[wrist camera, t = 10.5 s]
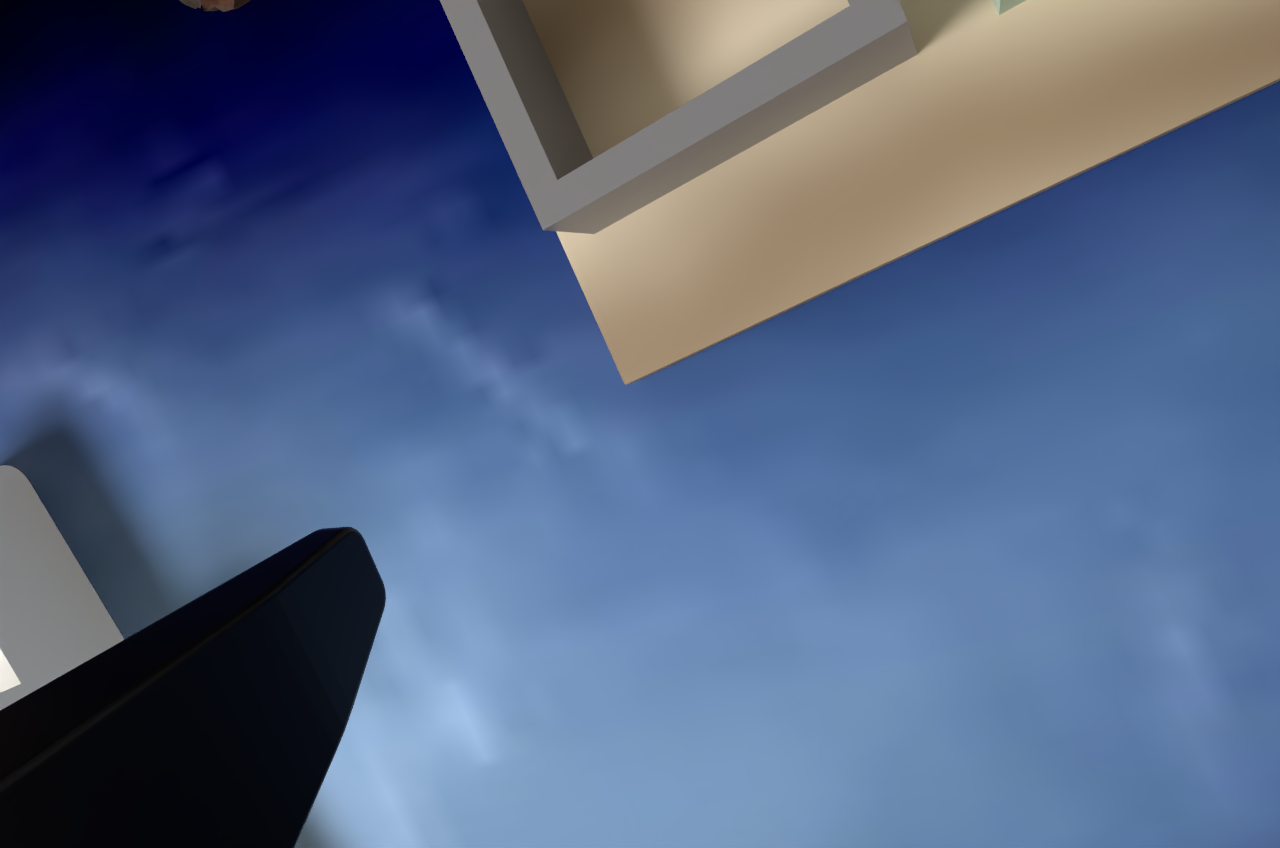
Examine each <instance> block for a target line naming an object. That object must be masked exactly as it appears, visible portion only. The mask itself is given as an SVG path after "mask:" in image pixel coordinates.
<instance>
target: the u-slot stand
mask: <svg viewBox="0 0 1280 848" xmlns="http://www.w3.org/2000/svg"><path fill="white" fill-rule="evenodd" d="M123 640H124V638H123V636H122V635H121V633H120V631H119V630H118V628H117V626H116V625H115V623H114V621H113V620H112V618H111V616H110V615H109V613H108V611H107V610H106V608H105V606H104V605H103V603H102V601H101V600H100V598H99V596H98V595H97V593H96V591H95V590H94V588H93V586H92V585H91V583H90V582H89V580H88V578H87V577H86V575H85V573H84V572H83V570H82V568H81V567H80V565H79V563H78V562H77V560H76V558H75V557H74V555H73V553H72V552H71V550H70V548H69V547H68V545H67V543H66V542H65V540H64V538H63V537H62V535H61V533H60V532H59V530H58V528H57V527H56V525H55V523H54V522H53V520H52V518H51V517H50V515H49V513H48V512H47V510H46V508H45V507H44V505H43V503H42V502H41V500H40V498H39V497H38V495H37V493H36V492H35V490H34V488H33V487H32V485H31V483H30V482H29V481H28V479H27V478H26V476H25V475H24V474H23V473H22V472H20V471H19V470H18V469H16V468H14V467H12V466H8V465H2V466H0V710H2V709H3V708H5V707H7V706H9V705H10V704H12V703H14V702H16V701H17V700H19V699H21V698H23V697H24V696H26V695H28V694H30V693H32V692H33V691H35V690H37V689H39V688H40V687H42V686H44V685H46V684H47V683H49V682H51V681H53V680H54V679H56V678H58V677H60V676H61V675H63V674H65V673H67V672H68V671H70V670H72V669H74V668H75V667H77V666H79V665H81V664H82V663H84V662H86V661H88V660H90V659H91V658H93V657H95V656H97V655H98V654H100V653H102V652H104V651H105V650H107V649H109V648H111V647H112V646H114V645H116V644H118V643H119V642H121V641H123Z"/></svg>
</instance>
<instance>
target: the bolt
mask: <svg viewBox="0 0 1280 848" xmlns="http://www.w3.org/2000/svg"><path fill="white" fill-rule="evenodd" d="M180 1H181V2H182V3H184V4H185V5H187V6H190V7H192V8H195V9H196V8H197V7H199V8H200V7H201V5H202V6H203V9H204V11H216V10H221V11H223V12H225V11H229V10H234V9H238V8H239V7H241V6H243V5H244V4H246V3H247V2H249V1H250V0H180Z"/></svg>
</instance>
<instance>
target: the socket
mask: <svg viewBox="0 0 1280 848" xmlns="http://www.w3.org/2000/svg"><path fill="white" fill-rule="evenodd" d="M992 1H993V3H994V5H995V7H996V10H997V12H998V14H999V15H1001V14H1003V13H1004V12H1006V11H1008V10H1010V9H1012V8H1013V7H1015V6H1017V5H1019V4H1021V3H1022V2H1024V1H1026V0H992Z"/></svg>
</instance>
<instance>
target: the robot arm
mask: <svg viewBox="0 0 1280 848" xmlns="http://www.w3.org/2000/svg"><path fill="white" fill-rule="evenodd" d="M385 600H386V595H385V588H384V584H383V581H382V579H381V577H380V574H379V572H378V570H377V568H376V565H375V563H374V561H373V559H372V556H371V554H370V552H369V550H368V547H367V545H366V543H365V540H364V538H363V537H362V535H361V534H360V533H359V532H358V531H357V530H356V529H354V528H352V527H339V528H326V529H320V530H317V531H315V532H313V533H311V534H309V535H307V536H306V537H304V538H302V539H300V540H299V541H297V542H295V543H293V544H292V545H290V546H288V547H286V548H285V549H283V550H281V551H279V552H278V553H276V554H274V555H272V556H271V557H269V558H267V559H265V560H263V561H262V562H260V563H258V564H256V565H255V566H253V567H251V568H249V569H248V570H246V571H244V572H242V573H241V574H239V575H237V576H235V577H234V578H232V579H230V580H228V581H227V582H225V583H223V584H221V585H220V586H218V587H216V588H214V589H213V590H211V591H209V592H207V593H205V594H204V595H202V596H200V597H198V598H197V599H195V600H193V601H191V602H190V603H188V604H186V605H184V606H183V607H181V608H179V609H177V610H176V611H174V612H172V613H170V614H169V615H167V616H165V617H163V618H162V619H160V620H158V621H156V622H155V623H153V624H151V625H149V626H147V627H146V628H144V629H142V630H140V631H139V632H137V633H135V634H133V635H132V636H130V637H128V638H126V639H125V640H123V641H121V642H119V643H118V644H116V645H114V646H112V647H111V648H109V649H107V650H105V651H104V652H102V653H100V654H98V655H97V656H95V657H93V658H91V659H90V660H88V661H86V662H84V663H82V664H81V665H79V666H77V667H75V668H74V669H72V670H70V671H68V672H67V673H65V674H63V675H61V676H60V677H58V678H56V679H54V680H53V681H51V682H49V683H47V684H46V685H44V686H42V687H40V688H39V689H37V690H35V691H33V692H32V693H30V694H28V695H26V696H24V697H23V698H21V699H19V700H17V701H16V702H14V703H12V704H10V705H9V706H7V707H5V708H3V709H2V710H0V848H295V845H296V843H297V841H298V838H299V836H300V834H301V831H302V829H303V827H304V825H305V822H306V820H307V818H308V815H309V813H310V811H311V808H312V806H313V804H314V801H315V799H316V797H317V794H318V792H319V790H320V788H321V785H322V783H323V781H324V778H325V776H326V774H327V771H328V769H329V767H330V764H331V762H332V760H333V758H334V755H335V753H336V751H337V748H338V746H339V743H340V741H341V738H342V736H343V733H344V731H345V728H346V725H347V722H348V720H349V717H350V714H351V711H352V708H353V705H354V702H355V699H356V696H357V692H358V689H359V686H360V683H361V680H362V677H363V674H364V671H365V667H366V664H367V661H368V658H369V655H370V652H371V649H372V645H373V642H374V639H375V636H376V633H377V630H378V627H379V623H380V620H381V617H382V614H383V611H384V607H385Z"/></svg>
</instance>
